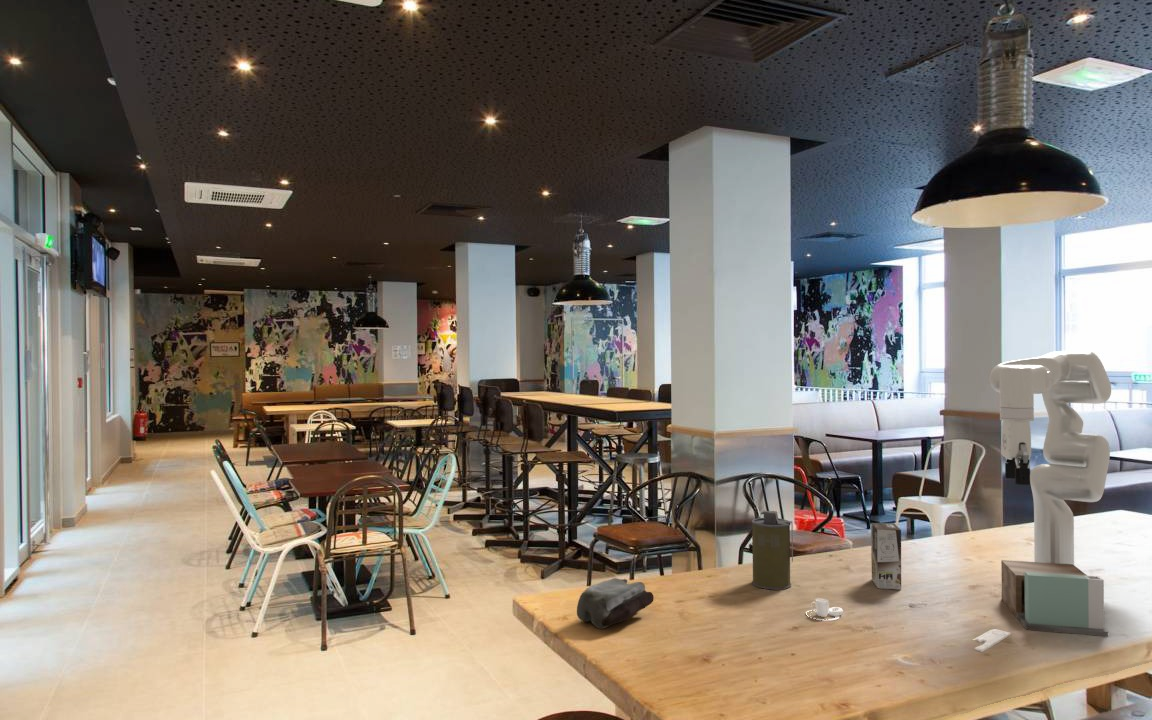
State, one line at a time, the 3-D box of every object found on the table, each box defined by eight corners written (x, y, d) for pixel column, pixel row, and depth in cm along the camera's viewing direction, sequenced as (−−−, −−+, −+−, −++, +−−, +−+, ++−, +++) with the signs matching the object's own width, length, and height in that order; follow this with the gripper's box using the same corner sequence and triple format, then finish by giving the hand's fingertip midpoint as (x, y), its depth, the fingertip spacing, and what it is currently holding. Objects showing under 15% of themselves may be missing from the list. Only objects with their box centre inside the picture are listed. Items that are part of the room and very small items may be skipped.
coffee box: (902, 590, 204) (901, 529, 204) (877, 588, 206) (876, 529, 206) (895, 580, 213) (894, 522, 213) (870, 579, 215) (870, 521, 215)
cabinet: (1001, 599, 196) (1001, 560, 196) (1073, 604, 191) (1072, 564, 191) (1026, 629, 174) (1026, 585, 174) (1108, 636, 169) (1107, 591, 169)
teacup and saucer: (843, 613, 187) (842, 597, 187) (843, 624, 180) (843, 607, 180) (805, 610, 190) (805, 593, 190) (804, 620, 183) (804, 603, 183)
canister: (749, 587, 208) (748, 514, 208) (755, 577, 217) (754, 507, 217) (790, 592, 204) (789, 517, 204) (794, 581, 213) (794, 509, 213)
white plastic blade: (958, 647, 165) (958, 642, 165) (987, 631, 175) (987, 626, 175) (983, 653, 161) (982, 648, 161) (1011, 637, 171) (1011, 632, 171)
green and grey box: (1024, 618, 178) (1024, 571, 178) (1099, 624, 174) (1098, 576, 174) (1028, 623, 175) (1028, 575, 175) (1104, 629, 171) (1103, 580, 171)
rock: (611, 638, 171) (611, 600, 171) (569, 627, 179) (569, 591, 179) (656, 615, 187) (656, 581, 187) (616, 606, 194) (615, 573, 194)
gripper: (992, 412, 205) (993, 475, 205) (1009, 417, 188) (1009, 486, 189) (1023, 412, 203) (1024, 476, 203) (1043, 417, 186) (1044, 487, 186)
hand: (1017, 481), depth 196 cm, fingers open, 9 cm apart
